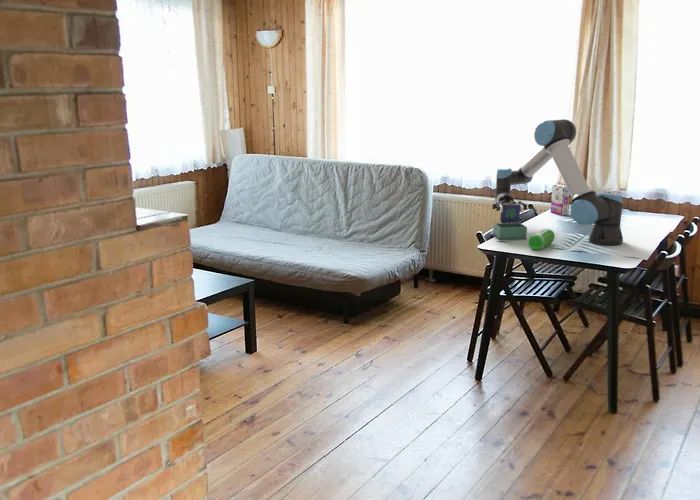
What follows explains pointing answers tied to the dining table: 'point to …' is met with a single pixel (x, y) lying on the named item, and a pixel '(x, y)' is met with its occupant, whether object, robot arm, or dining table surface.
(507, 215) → the flask
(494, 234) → the open box
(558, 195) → the candy bar box
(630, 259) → the dining table surface
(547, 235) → the speaker
